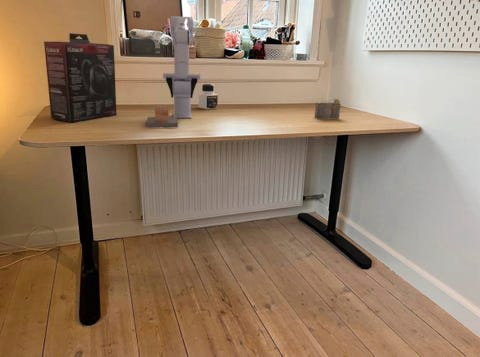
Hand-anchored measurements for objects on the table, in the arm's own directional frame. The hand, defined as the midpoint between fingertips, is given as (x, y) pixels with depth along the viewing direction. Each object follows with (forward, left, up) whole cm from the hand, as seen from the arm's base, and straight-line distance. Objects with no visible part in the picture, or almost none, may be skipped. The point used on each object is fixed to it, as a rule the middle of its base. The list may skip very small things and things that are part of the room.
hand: (181, 97), depth 155 cm
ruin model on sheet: (-17, +68, -11) cm, 71 cm away
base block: (+3, -8, -11) cm, 14 cm away
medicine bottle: (-41, +13, -11) cm, 44 cm away
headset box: (-10, -40, -11) cm, 42 cm away
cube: (+4, -8, -9) cm, 12 cm away
